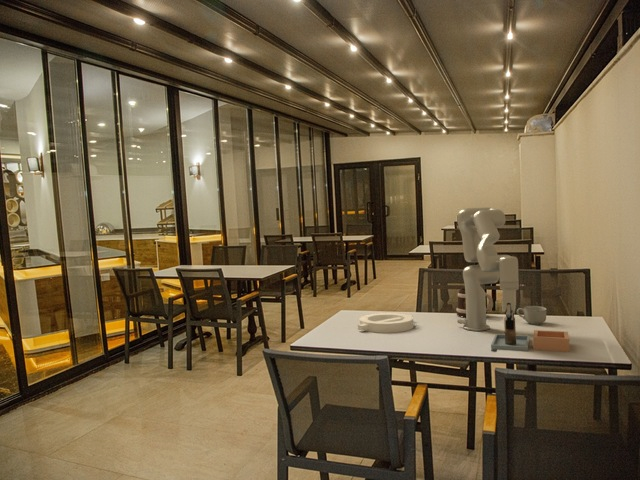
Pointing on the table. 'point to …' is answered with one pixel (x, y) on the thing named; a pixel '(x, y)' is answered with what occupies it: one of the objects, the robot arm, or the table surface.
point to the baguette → (510, 334)
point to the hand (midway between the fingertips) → (510, 327)
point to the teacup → (533, 314)
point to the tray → (520, 345)
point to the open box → (551, 340)
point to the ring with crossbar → (386, 322)
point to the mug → (462, 303)
